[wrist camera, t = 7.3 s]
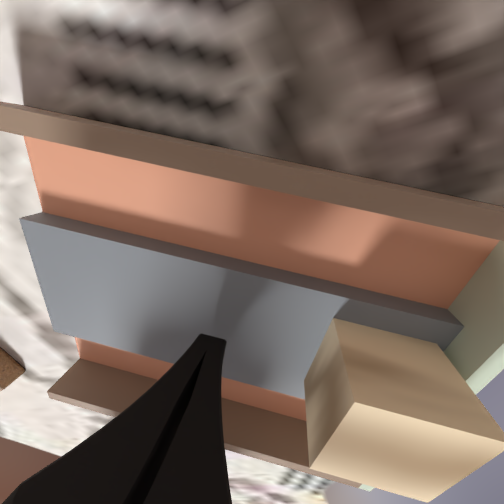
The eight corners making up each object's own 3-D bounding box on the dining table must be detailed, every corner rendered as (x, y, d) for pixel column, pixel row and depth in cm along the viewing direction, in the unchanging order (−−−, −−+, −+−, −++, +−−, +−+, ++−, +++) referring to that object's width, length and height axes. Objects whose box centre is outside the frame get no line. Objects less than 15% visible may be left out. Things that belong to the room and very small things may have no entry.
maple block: (388, 403, 13) (427, 502, 9) (303, 380, 13) (309, 468, 9) (437, 343, 10) (512, 444, 7) (333, 317, 11) (354, 402, 7)
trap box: (357, 437, 17) (370, 491, 14) (84, 361, 18) (49, 398, 16) (535, 213, 9) (641, 241, 6) (22, 105, 10) (-73, 89, 8)
